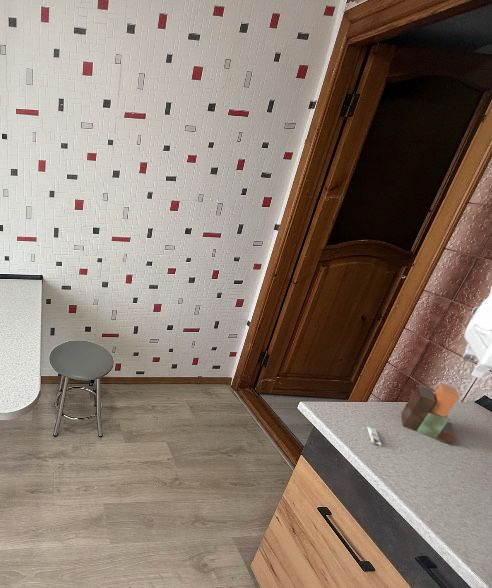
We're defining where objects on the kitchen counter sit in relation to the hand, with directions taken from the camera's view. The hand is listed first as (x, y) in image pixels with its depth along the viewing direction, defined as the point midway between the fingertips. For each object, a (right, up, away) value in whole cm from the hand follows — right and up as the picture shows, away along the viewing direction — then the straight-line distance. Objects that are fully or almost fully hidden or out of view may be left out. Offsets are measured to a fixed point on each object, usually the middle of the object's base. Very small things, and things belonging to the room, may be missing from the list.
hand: (471, 367), depth 87 cm
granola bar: (-22, -20, +5) cm, 30 cm away
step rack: (-2, -20, +9) cm, 22 cm away
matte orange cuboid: (-2, -13, +7) cm, 15 cm away
